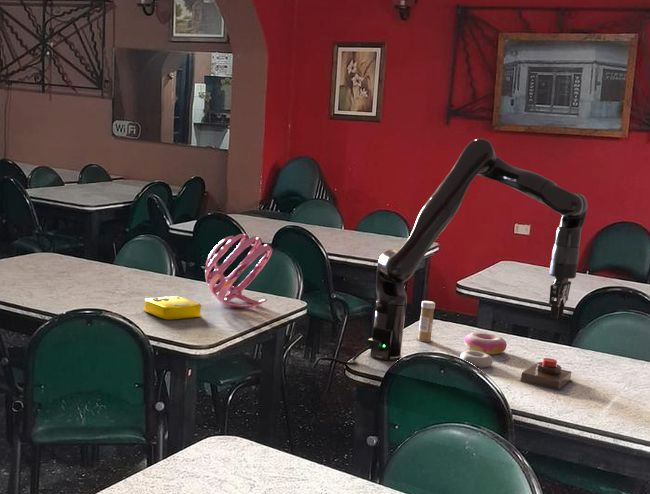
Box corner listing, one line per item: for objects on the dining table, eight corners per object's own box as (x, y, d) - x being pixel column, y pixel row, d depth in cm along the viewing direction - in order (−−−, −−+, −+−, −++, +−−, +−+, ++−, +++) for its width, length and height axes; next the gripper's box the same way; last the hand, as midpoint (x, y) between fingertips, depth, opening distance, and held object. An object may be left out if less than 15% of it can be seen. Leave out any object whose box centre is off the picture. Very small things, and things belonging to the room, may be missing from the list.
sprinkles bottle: (433, 341, 290) (438, 303, 288) (423, 342, 288) (428, 303, 286) (424, 338, 294) (429, 300, 292) (414, 338, 292) (419, 300, 289)
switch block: (557, 390, 246) (560, 375, 245) (520, 381, 252) (522, 366, 251) (570, 380, 258) (572, 365, 257) (534, 371, 264) (536, 357, 263)
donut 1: (456, 348, 284) (457, 333, 283) (476, 343, 294) (478, 329, 293) (491, 358, 275) (493, 343, 274) (512, 352, 285) (514, 338, 284)
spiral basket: (305, 257, 320) (252, 210, 324) (269, 284, 297) (212, 233, 301) (270, 305, 335) (219, 260, 339) (232, 334, 312) (179, 285, 316)
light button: (553, 369, 253) (554, 362, 252) (540, 366, 255) (541, 359, 254) (557, 366, 256) (558, 360, 256) (544, 363, 258) (545, 357, 258)
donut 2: (490, 371, 260) (493, 363, 269) (491, 360, 259) (494, 352, 269) (457, 365, 263) (461, 357, 272) (458, 355, 262) (463, 347, 272)
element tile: (165, 320, 286) (166, 306, 285) (142, 310, 297) (143, 297, 296) (202, 316, 296) (203, 303, 295) (178, 307, 307) (179, 294, 306)
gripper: (558, 256, 258) (550, 311, 261) (544, 260, 246) (536, 318, 249) (583, 260, 254) (575, 316, 257) (571, 265, 242) (562, 323, 245)
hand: (556, 316), depth 253 cm, fingers open, 5 cm apart
